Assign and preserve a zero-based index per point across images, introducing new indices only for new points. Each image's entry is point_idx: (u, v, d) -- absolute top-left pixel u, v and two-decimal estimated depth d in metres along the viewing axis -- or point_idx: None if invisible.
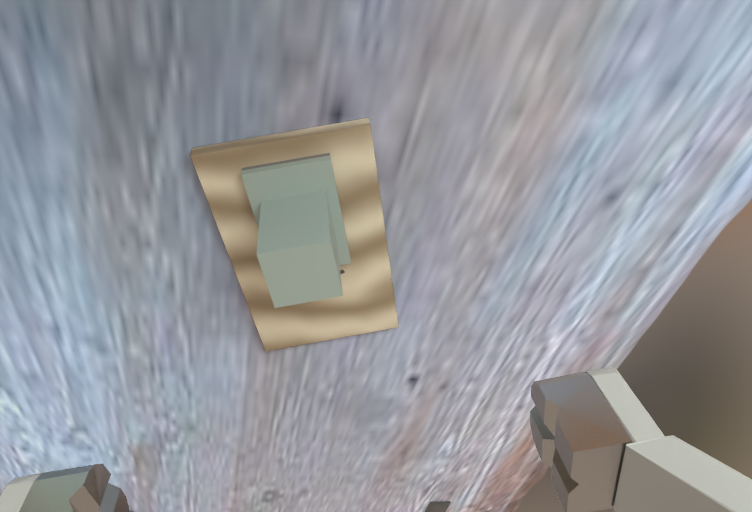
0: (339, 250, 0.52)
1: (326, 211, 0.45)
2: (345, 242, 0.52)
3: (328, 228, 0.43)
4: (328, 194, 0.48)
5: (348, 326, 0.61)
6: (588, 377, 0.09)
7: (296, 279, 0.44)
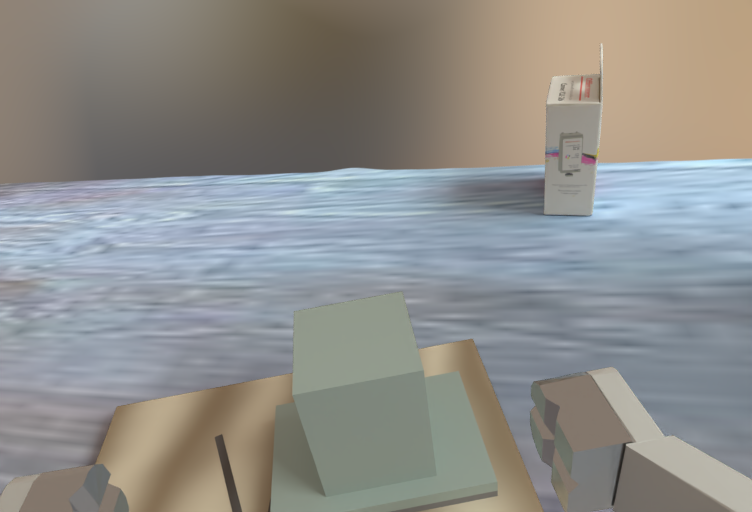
0: (305, 503, 0.28)
1: (430, 431, 0.26)
2: None
3: (426, 396, 0.25)
4: (428, 480, 0.28)
5: None
6: (587, 377, 0.09)
7: (346, 332, 0.26)
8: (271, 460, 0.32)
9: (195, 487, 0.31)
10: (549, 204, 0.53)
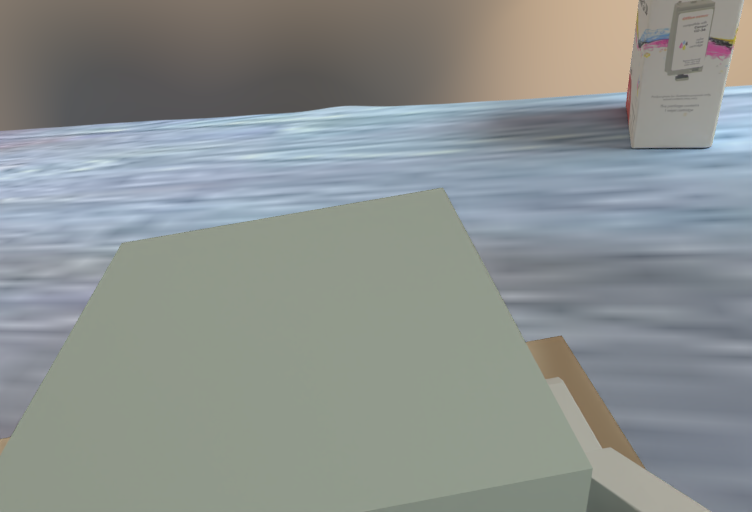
0: None
1: None
2: None
3: None
4: None
5: None
6: None
7: (259, 298, 0.08)
8: None
9: None
10: (642, 131, 0.34)
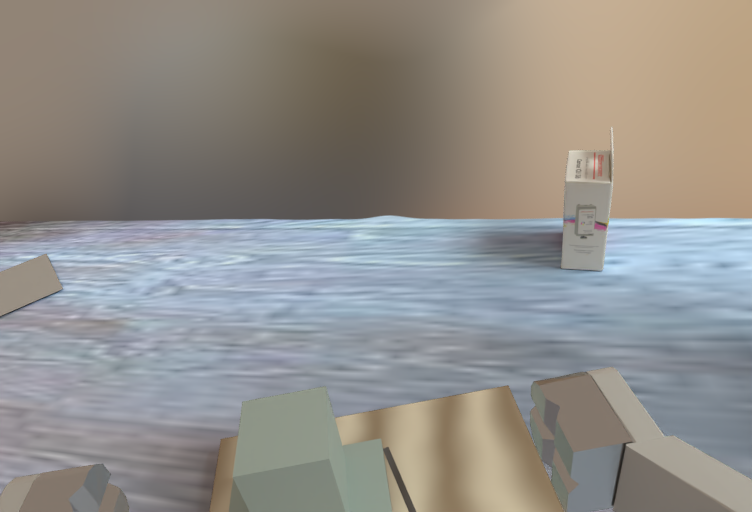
0: None
1: (341, 498, 0.35)
2: None
3: (334, 475, 0.33)
4: None
5: None
6: (587, 377, 0.09)
7: (279, 422, 0.35)
8: None
9: None
10: (565, 260, 0.61)
